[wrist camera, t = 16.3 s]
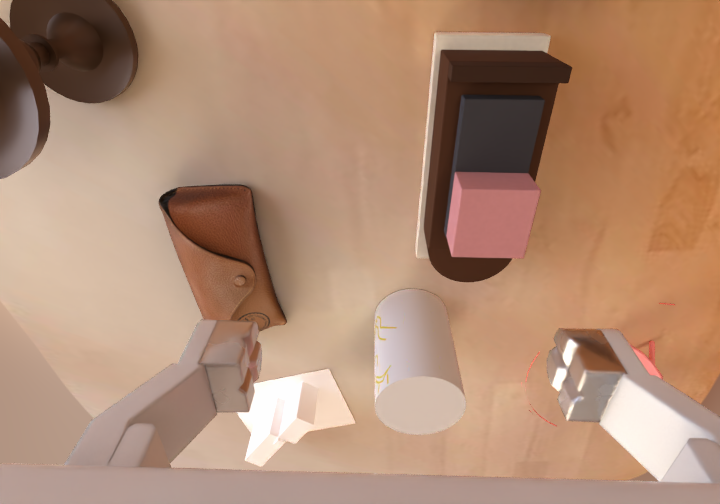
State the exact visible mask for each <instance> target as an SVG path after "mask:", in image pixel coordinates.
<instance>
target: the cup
mask: <svg viewBox="0 0 720 504" xmlns="http://www.w3.org/2000/svg"><path fill="white" fill-rule="evenodd" d="M465 409H466V399H465V395H464V390H463V385H462V380H461V376H460V371H459V366H458V361H457V356H456V352H455V347H454V342H453V337H452V333H451V328H450V323H449V318H448V314H447V309H446V307H445V305H444V303H443V302H442V300H441V299H440V298H439V297H437V296H436V295H434V294H433V293H430V292H428V291H425V290H420V289H404V290H400V291H397V292H394V293H392V294H390V295H388V296H387V297H385V298H384V299H383V300H382V301H381V302H380V303H379V305H378V306H377V308H376V311H375V411H376V414H377V416H378V418H379V419H380V421H381V422H382V423H383V424H384V425H386V426H387V427H389V428H391V429H393V430H395V431H397V432H401V433H405V434H411V435H426V434H433V433H437V432H440V431H443V430H445V429H447V428H449V427H451V426H453V425H454V424H455V423H457V422H458V421H459V420H460V419H461V417H462V416H463V414H464V412H465Z"/></svg>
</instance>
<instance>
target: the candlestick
mask: <svg viewBox="0 0 720 504" xmlns="http://www.w3.org/2000/svg"><path fill="white" fill-rule="evenodd" d="M10 27H11V29H10V28H9V27H8V25H7V24H6V23H5V22H4V21H3V20H2V19H1V18H0V179H2V178H6V177H8V176H10V175H11V174H13V173H15V172H17V171H18V170H20V169H22V168H23V167H25V166H27V165H28V164H30V163H31V162H32V161H33V160H34V159H35V158H36V157H37V156H38V155H39V154H40V153H41V151H42V149H43V147H44V145H45V143H46V141H47V138H48V133H49V128H50V106H49V102H48V98H47V94H46V89H45V86H44V84H45V85H47V86H48V87H49V88H51V89H52V90H54V91H55V92H57V93H59V94H61V95H63V96H65V97H67V98H69V99H72V100H75V101H78V102H85V103H101V102H104V101H108V100H111V99H112V98H114V97H116V96H118V95H119V94H121V93H123V92H124V91H125V90H126V89H127V88H128V87H129V86H130V84H131V82H132V81H133V79H134V77H135V74H136V70H137V65H138V52H137V44H136V41H135V38H134V34H133V31H132V29H131V27H130V25H129V23H128V21H127V19H126V18H125V16H124V15H123V13H122V12H121V10H120V9H119V8H118V7H117V5H116V4H115V3H114V2H113V1H112V0H13V1H12V3H11V9H10Z"/></svg>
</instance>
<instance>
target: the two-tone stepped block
mask: <svg viewBox="0 0 720 504" xmlns="http://www.w3.org/2000/svg"><path fill="white" fill-rule="evenodd" d="M544 103H545V100H544V99H543V98H542V97H541V96H526V95H462V96H461V104H460V112H459V119H458V127H457V135H456V142H455V150H454V158H453V165H452V173H451V181H450V188H449V196H448V204H447V211H446V219H445V227H444V233H445V237H446V238H447V241H448V245H449V248H450V252H451V256H452V257H478V258H524V255H525V252H526V248H527V244H528V240H529V236H530V232H531V228H532V224H533V220H534V216H535V212H536V208H537V204H538V200H539V197H540V193H541V190H540V189H539V187H538V186H537V185H536V183H535V182H534V180H533V179H532V178H531V176H530V175H529V173H528V172H529V168H530V163H531V159H532V155H533V150H534V146H535V142H536V138H537V133H538V129H539V125H540V120H541V116H542V112H543V107H544Z"/></svg>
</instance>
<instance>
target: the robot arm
mask: <svg viewBox="0 0 720 504" xmlns="http://www.w3.org/2000/svg"><path fill="white" fill-rule="evenodd" d="M258 333H259V330H258V325H257V323H256V322H254V321H232V320H203V319H201V320H200V321H199V322H198V323H197V324H196V327H195V329H194V331H193V333H192V335H191V337H190V339H189V341H188V343H187V345H186V347H185V349H184V351H183V353H182V355H181V357H180V360H179V362H178V364H171V365H169V366H168V367H167V368H165V369H164V370H162V371H161V372H159V373H158V374H157V375H155V376H154V377H152V378H151V379H149V380H148V381H147V382H145V383H144V384H142V385H141V386H140V387H138V388H137V389H135V390H134V391H132V392H131V393H130V394H128V395H127V396H125V397H124V398H122V399H121V400H120V401H118V402H117V403H115V404H114V405H113V406H111V407H110V408H108V409H107V410H105V411H104V412H103V413H101V414H100V415H98V416H97V417H95V418H94V419H93V420H92V421H91V422H90V423H89V425H88V427H87V428H86V430H85V432H84V433H83V435H82V437H81V438H80V440H79V441H78V443H77V445H76V446H75V448H74V449H73V451H72V453H71V455H70V456H69V458H68V459H67V461H66V463H65V464H64V465H51V464H49V465H48V464H14V463H13V464H12V463H0V504H720V416H718V415H717V414H715V413H714V412H712V411H711V410H709V409H707V408H706V407H704V406H703V405H701V404H700V403H698V402H697V401H695V400H693V399H692V398H690V397H689V396H687V395H686V394H684V393H683V392H681V391H679V390H678V389H676V388H675V387H673V386H672V385H670V384H669V383H667V382H665V381H664V380H662V379H661V378H659V377H658V376H656V375H650V374H649V373H648V371H647V370H646V368H645V367H644V365H643V364H642V362H641V361H640V359H639V358H638V356H637V355H636V353H635V352H634V350H633V349H632V347H631V346H630V344H629V343H628V342H627V340H626V339H625V337H624V336H623V334H622V333H621V331H619V330H618V329H564V328H559V329H558V331H557V332H556V334H555V336H554V341H555V343H556V347H554V348H553V349H552V350H550V351H549V355H548V358H547V373H548V378H549V380H550V383H551V385H552V386H553V387H554V388H555V389H556V390H558V391H559V392H560V394H559V396H558V399H557V400H558V402H559V405H560V407H561V409H562V412H563V414H564V416H565V419H566V421H582V422H600V423H599V424H600V425H601V426H602V427H603V428H604V429H605V430H606V431H607V432H608V433H609V434H610V435H611V436H612V437H613V438H614V439H615V440H616V441H617V442H619V443H620V444H621V445H622V446H623V447H624V448H625V449H626V450H627V451H628V452H629V453H630V454H631V455H632V456H633V457H634V458H635V459H636V460H637V461H638V462H639V463H640V464H642V465H643V466H644V467H645V468H646V469H647V470H648V471H649V472H650V473H651V474H652V475H653V476H654V477H655V478H656V479H657V480H658V481H659V482H656V481H655V482H654V481H621V480H586V479H550V478H514V477H478V476H442V475H407V474H372V473H337V472H302V471H266V470H230V469H195V468H171V465H170V463H171V462H172V461H173V460H174V459H175V458H176V457H177V456H178V455H179V453H180V452H181V451H182V450H183V449H184V448H185V447H186V446H187V445H188V444H189V443H190V442H191V441H192V440H193V439H194V438H195V437H196V436H197V435H198V434H199V433H200V432H201V431H202V430H203V428H204V427H205V426H206V425H207V424H208V423H209V422H210V421H211V420H212V419H213V418H214V417H215V416H216V415H217V412H249V411H250V407H251V404H252V400H253V396H254V393H255V390H254V384H253V383H254V382H255V381H256V380H257V379H258V378H259V374H260V370H261V362H262V350H261V344H260V343H259V342H258V341H257V337H258Z"/></svg>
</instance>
